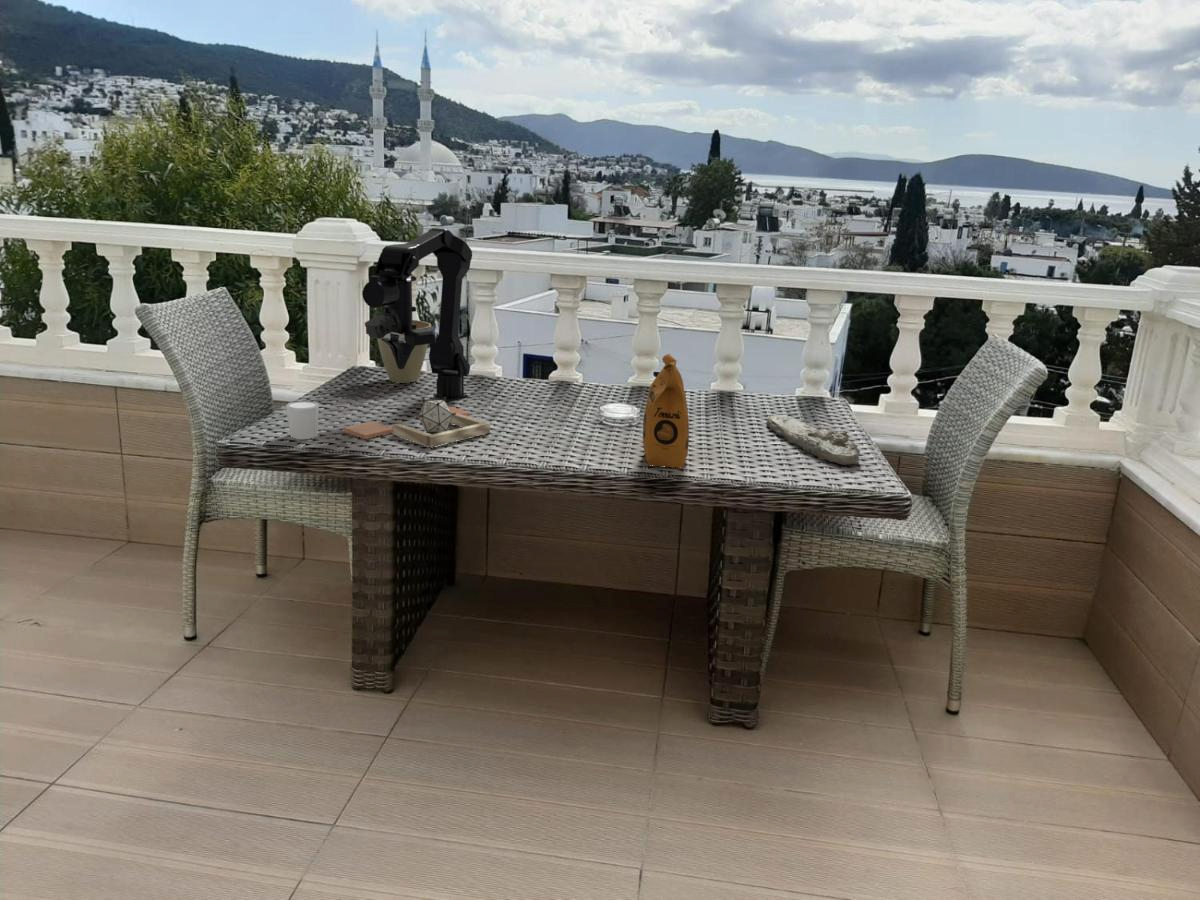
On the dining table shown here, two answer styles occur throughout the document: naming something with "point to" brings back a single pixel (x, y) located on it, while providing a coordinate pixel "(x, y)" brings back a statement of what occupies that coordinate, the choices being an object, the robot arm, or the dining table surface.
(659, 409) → the coffee package
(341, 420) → the dining table surface
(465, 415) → the tile
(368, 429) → the tile
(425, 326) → the plant pot
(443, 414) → the game die
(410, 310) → the robot arm
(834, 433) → the elongated rock
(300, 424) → the shot glass
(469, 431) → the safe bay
